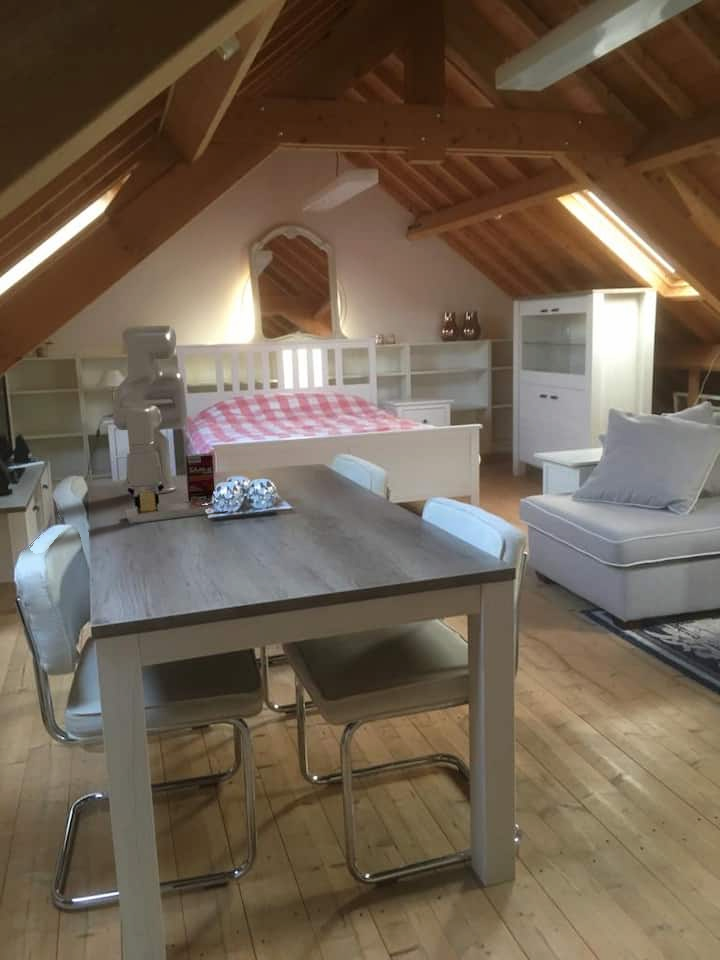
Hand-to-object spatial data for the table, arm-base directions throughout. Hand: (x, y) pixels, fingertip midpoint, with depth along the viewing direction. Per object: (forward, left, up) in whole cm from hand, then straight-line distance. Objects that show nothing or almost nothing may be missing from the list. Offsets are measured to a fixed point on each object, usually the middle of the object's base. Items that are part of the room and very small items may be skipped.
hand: (147, 506), depth 249 cm
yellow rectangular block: (0, 0, -3) cm, 3 cm away
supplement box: (-15, +20, -4) cm, 25 cm away
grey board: (0, +9, -4) cm, 10 cm away
